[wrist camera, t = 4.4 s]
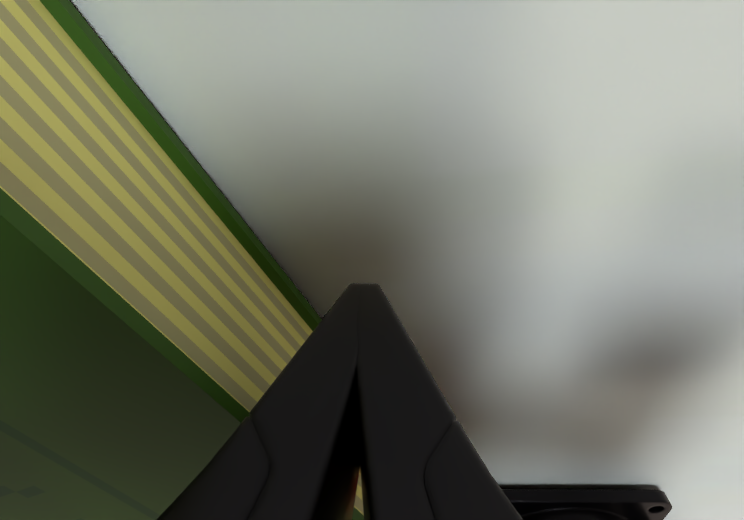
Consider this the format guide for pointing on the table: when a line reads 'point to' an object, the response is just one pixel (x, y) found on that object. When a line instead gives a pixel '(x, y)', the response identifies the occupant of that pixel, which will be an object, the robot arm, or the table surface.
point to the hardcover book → (118, 288)
